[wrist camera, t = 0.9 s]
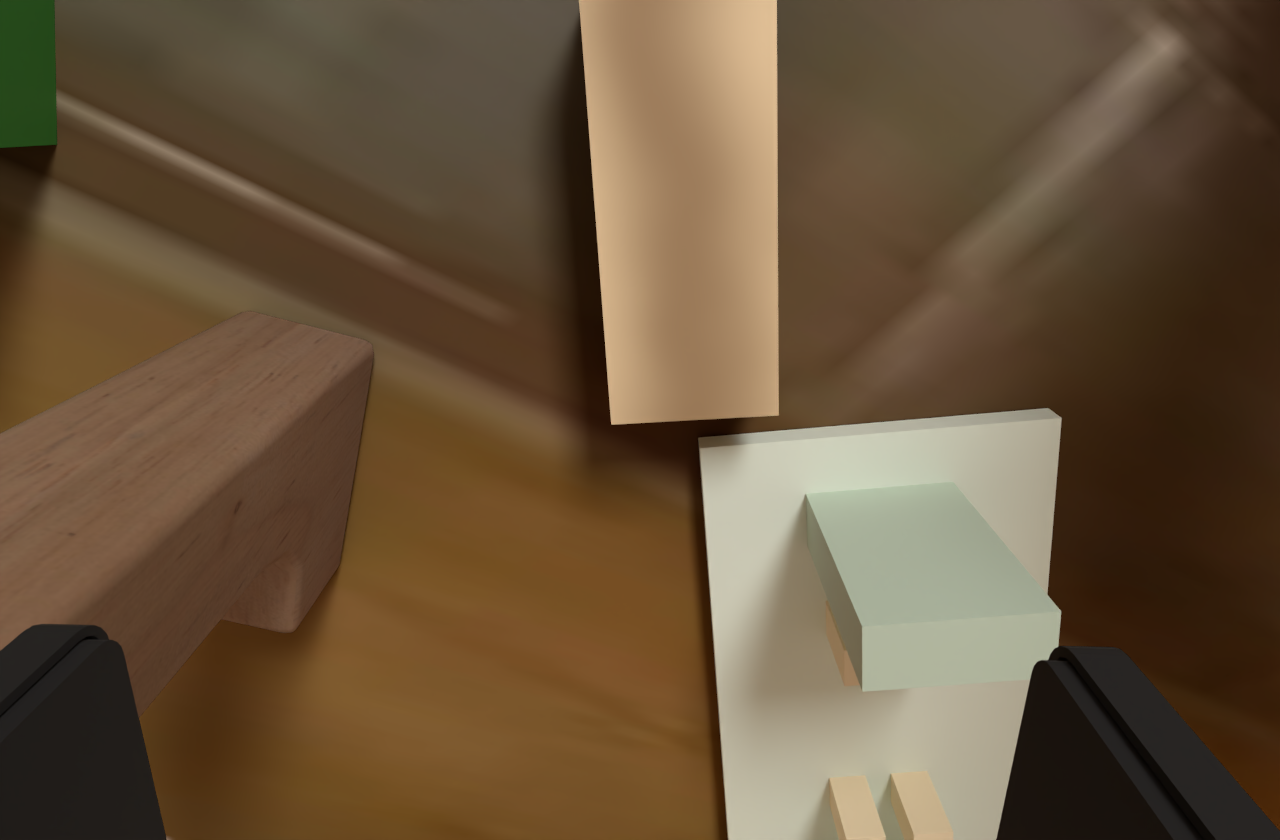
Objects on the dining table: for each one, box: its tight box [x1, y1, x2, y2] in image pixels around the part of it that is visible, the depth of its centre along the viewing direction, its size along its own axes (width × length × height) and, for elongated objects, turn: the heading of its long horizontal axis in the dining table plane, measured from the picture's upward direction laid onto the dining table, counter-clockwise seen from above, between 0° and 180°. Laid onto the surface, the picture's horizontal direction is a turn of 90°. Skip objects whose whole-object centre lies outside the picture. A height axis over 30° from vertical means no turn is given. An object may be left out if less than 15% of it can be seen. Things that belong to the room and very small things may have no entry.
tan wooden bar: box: [579, 0, 779, 425], centre depth 25 cm, size 5×12×4 cm, turn 3°
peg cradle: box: [698, 408, 1062, 840], centre depth 29 cm, size 12×22×9 cm, turn 5°
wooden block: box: [0, 311, 374, 717], centre depth 21 cm, size 9×4×18 cm, turn 165°
